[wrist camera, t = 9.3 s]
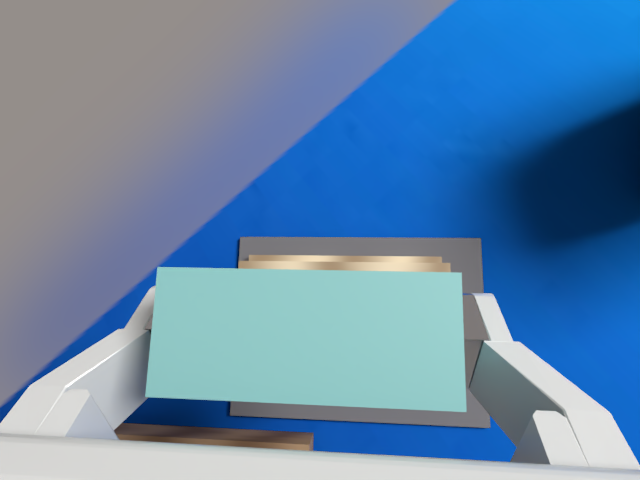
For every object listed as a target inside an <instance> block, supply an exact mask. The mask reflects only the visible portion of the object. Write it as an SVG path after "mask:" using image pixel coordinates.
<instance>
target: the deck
mask: <svg viewBox="0 0 640 480" xmlns="http://www.w3.org/2000/svg"><path fill="white" fill-rule="evenodd" d="M114 432H115V433H116V435H117V436H118V438H119V440H130V441H148V442H165V443H183V444H200V445H217V446H235V447H252V448H270V449H287V450H304V451H313V433H306V432H286V431H267V430H248V429H228V428H209V427H189V426H170V425H151V424H131V423H121V424H120V425H119V426H118V427H117V428H116V429H115V430H114Z"/></svg>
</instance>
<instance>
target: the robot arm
mask: <svg viewBox="0 0 640 480" xmlns="http://www.w3.org/2000/svg"><path fill="white" fill-rule="evenodd" d="M155 289H156V286H154V287H152V288H150V289H149V291H148V292H147V294H146V295H145V297H144V298H143V300H142V302H141V303H140V305H139V306H138V308H137V309H136V311H135V313H134V314H133V316H132V317H131V319H130V320H129V322H128V323H127V325H126V327H125V328H124V329H118V330H116V331H115V332H113V333H112V334H110V335H108V336H107V337H105V338H104V339H102V340H101V341H99V342H97V343H96V344H94V345H93V346H91V347H90V348H88V349H86V350H85V351H83V352H82V353H80V354H78V355H77V356H75V357H74V358H72V359H71V360H69V361H67V362H66V363H64V364H63V365H61V366H60V367H58V368H56V369H55V370H53V371H52V372H50V373H49V374H47V375H45V376H44V377H42V378H41V379H39V380H38V381H36V382H34V383H33V384H31V385H30V386H29V387H28V389H27V390H26V391H25V392H24V394H23V395H22V396H21V398H20V399H19V400H18V401H17V403H16V404H15V405H14V407H13V408H12V409H11V410H10V412H9V413H8V414H7V416H6V417H5V418H4V419H3V421H2V422H1V423H0V480H640V465H639V463H638V462H637V460H636V458H635V456H634V455H633V453H632V451H631V449H630V447H629V446H628V444H627V442H626V440H625V438H624V437H623V435H622V433H621V431H620V429H619V428H618V426H617V424H616V422H615V421H614V419H613V417H612V415H611V413H610V412H609V411H607V410H606V409H605V408H604V407H602V406H601V405H600V404H598V403H597V402H596V401H595V400H593V399H592V398H591V397H589V396H588V395H587V394H586V393H584V392H583V391H582V390H581V389H579V388H578V387H577V386H575V385H574V384H573V383H572V382H570V381H569V380H568V379H566V378H565V377H564V376H563V375H561V374H560V373H559V372H557V371H556V370H555V369H554V368H552V367H551V366H550V365H549V364H547V363H546V362H545V361H543V360H542V359H541V358H540V357H538V356H537V355H536V354H534V353H533V352H532V351H531V350H529V349H528V348H527V347H525V346H524V345H523V344H522V343H520V342H513V339H512V337H511V335H510V332H509V330H508V327H507V325H506V323H505V320H504V318H503V316H502V313H501V311H500V308H499V306H498V304H497V301H496V299H495V296H494V295H493V294H491V293H471V294H470V293H462V297H463V325H464V354H465V382H466V389H469V391H470V392H471V393H472V394H473V396H474V397H475V398H476V399H477V400H478V402H479V403H480V404H481V405H482V406H483V407H484V409H485V410H486V411H487V412H488V413H489V415H490V416H491V417H492V418H493V419H494V421H495V422H496V423H497V424H498V425H499V426H500V428H501V429H502V430H503V431H504V432H505V434H506V435H507V436H508V437H509V438H510V440H511V441H512V442H513V443H514V444H515V446H516V447H517V449H516V451H515V453H514V455H513V457H512V459H511V461H510V462H498V461H481V460H463V459H446V458H428V457H410V456H393V455H375V454H357V453H340V452H322V451H304V450H287V449H270V448H252V447H235V446H217V445H200V444H183V443H165V442H148V441H130V440H119V438H118V436H117V435H116V433H115V432H114V430H115V429H116V428H117V427H118V426H119V425H120V424H121V423H122V422H123V421H124V420H125V419H126V418H127V417H129V416H130V415H131V414H132V413H133V412H134V411H135V410H136V409H137V408H138V407H139V406H140V405H141V404H142V403H143V402H144V401H145V400H146V399H147V398H148V397H145V393H146V383H147V372H148V362H149V352H150V341H151V331H152V320H153V310H154V299H155Z"/></svg>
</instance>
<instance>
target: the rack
mask: <svg viewBox="0 0 640 480" xmlns="http://www.w3.org/2000/svg"><path fill="white" fill-rule="evenodd" d="M238 269H289V270H345V271H400V272H451V269H450V263H442V257H429V256H319V255H249V261H239V263H238Z"/></svg>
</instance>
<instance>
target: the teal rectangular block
mask: <svg viewBox="0 0 640 480" xmlns="http://www.w3.org/2000/svg"><path fill="white" fill-rule="evenodd" d="M145 397H156V398H177V399H198V400H219V401H240V402H261V403H283V404H304V405H325V406H346V407H367V408H389V409H410V410H431V411H452V412H467V411H466V382H465V354H464V325H463V297H462V273H456V272H400V271H345V270H289V269H234V268H178V267H158V268H157V278H156V289H155V299H154V310H153V320H152V331H151V341H150V352H149V362H148V372H147V383H146V393H145Z"/></svg>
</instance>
